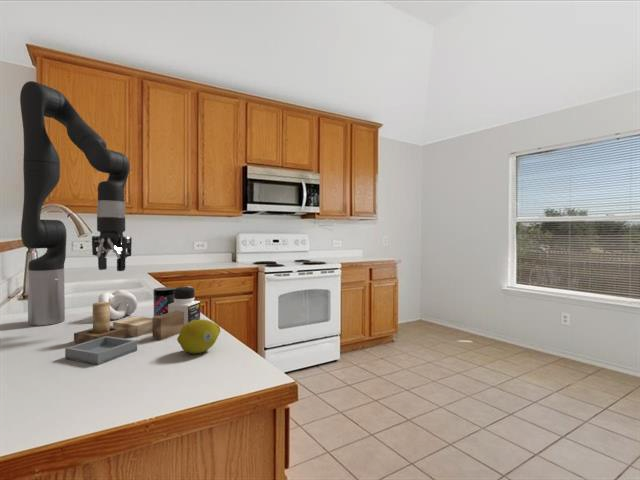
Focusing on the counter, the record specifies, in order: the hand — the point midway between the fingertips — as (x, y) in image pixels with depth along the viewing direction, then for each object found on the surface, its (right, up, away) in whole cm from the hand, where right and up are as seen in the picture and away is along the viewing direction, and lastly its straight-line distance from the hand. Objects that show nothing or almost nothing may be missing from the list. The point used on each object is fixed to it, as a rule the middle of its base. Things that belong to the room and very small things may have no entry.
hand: (111, 270), depth 112 cm
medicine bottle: (+21, -18, +4) cm, 28 cm away
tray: (+11, -18, -24) cm, 32 cm away
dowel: (+4, -18, -12) cm, 22 cm away
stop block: (+21, -18, -7) cm, 28 cm away
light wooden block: (+9, -18, -3) cm, 21 cm away
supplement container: (+11, -18, +11) cm, 24 cm away
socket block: (+4, -18, -12) cm, 22 cm away
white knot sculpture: (-6, -18, +14) cm, 23 cm away
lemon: (+34, -19, -21) cm, 44 cm away
